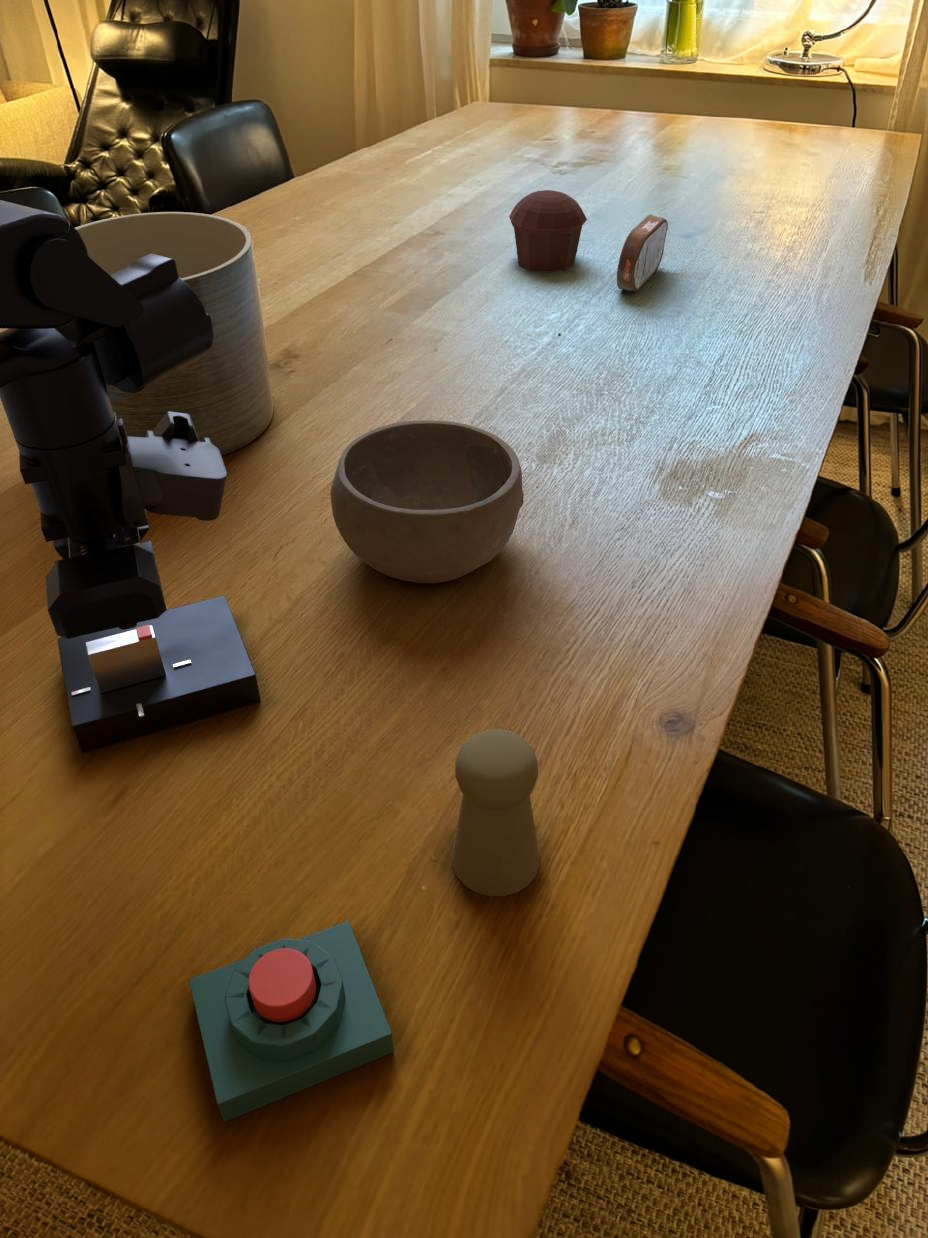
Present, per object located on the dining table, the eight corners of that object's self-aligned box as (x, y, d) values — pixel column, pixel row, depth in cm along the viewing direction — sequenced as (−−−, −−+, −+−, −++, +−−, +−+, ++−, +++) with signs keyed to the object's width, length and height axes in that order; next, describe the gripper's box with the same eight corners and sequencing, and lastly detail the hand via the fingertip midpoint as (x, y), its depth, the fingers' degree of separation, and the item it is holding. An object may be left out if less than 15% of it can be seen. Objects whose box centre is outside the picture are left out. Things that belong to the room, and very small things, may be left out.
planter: (241, 477, 106) (207, 293, 93) (48, 462, 109) (-11, 282, 96) (301, 382, 123) (279, 215, 110) (132, 371, 126) (92, 207, 113)
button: (261, 1032, 55) (256, 1016, 54) (246, 977, 57) (241, 961, 56) (324, 1008, 56) (320, 992, 55) (306, 955, 58) (302, 939, 57)
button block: (224, 1123, 55) (211, 1089, 52) (195, 998, 60) (182, 962, 58) (394, 1052, 58) (390, 1017, 55) (351, 940, 63) (346, 903, 61)
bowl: (531, 508, 101) (534, 420, 94) (505, 619, 87) (506, 525, 81) (367, 493, 103) (359, 406, 97) (317, 599, 90) (304, 506, 83)
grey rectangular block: (101, 693, 77) (86, 652, 74) (98, 680, 78) (84, 639, 75) (166, 675, 78) (154, 634, 75) (162, 662, 79) (151, 622, 76)
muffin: (494, 264, 152) (494, 196, 146) (533, 243, 159) (534, 177, 152) (560, 281, 147) (563, 211, 140) (597, 258, 153) (602, 190, 147)
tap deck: (83, 764, 75) (72, 735, 73) (66, 664, 84) (56, 636, 82) (264, 710, 79) (258, 682, 77) (230, 621, 88) (224, 593, 86)
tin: (646, 262, 152) (652, 205, 146) (666, 265, 151) (673, 208, 145) (612, 297, 142) (617, 238, 136) (633, 301, 140) (639, 241, 135)
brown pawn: (459, 818, 71) (456, 709, 64) (544, 829, 70) (550, 720, 63) (444, 890, 66) (438, 781, 59) (534, 902, 65) (540, 793, 58)
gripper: (228, 477, 53) (271, 684, 64) (182, 337, 67) (223, 527, 77) (11, 521, 51) (92, 730, 61) (8, 366, 64) (75, 558, 74)
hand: (128, 625), depth 68 cm, fingers closed
